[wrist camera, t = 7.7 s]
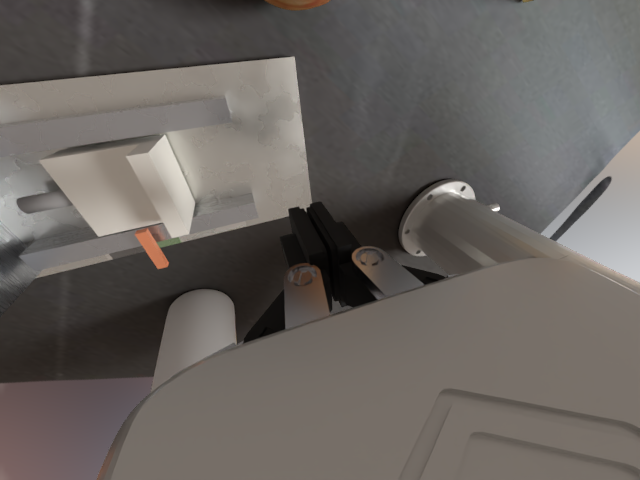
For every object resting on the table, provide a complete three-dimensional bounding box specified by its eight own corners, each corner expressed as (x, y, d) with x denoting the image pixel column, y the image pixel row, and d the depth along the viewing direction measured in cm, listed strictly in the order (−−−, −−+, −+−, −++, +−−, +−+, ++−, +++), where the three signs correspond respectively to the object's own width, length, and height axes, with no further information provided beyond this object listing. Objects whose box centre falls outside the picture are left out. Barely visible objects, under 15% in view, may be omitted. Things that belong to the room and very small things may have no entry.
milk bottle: (153, 305, 28) (73, 583, 13) (214, 277, 29) (206, 509, 14) (193, 336, 33) (170, 564, 18) (244, 311, 34) (265, 511, 18)
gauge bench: (291, 57, 20) (337, 46, 12) (310, 206, 28) (344, 257, 20) (-178, 103, 14) (-694, 141, 6) (22, 275, 22) (-85, 385, 14)
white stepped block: (164, 134, 19) (148, 152, 14) (210, 237, 25) (208, 272, 20) (1, 158, 16) (-78, 189, 12) (95, 265, 22) (65, 312, 18)
